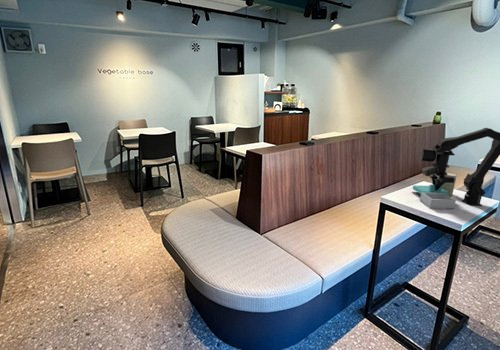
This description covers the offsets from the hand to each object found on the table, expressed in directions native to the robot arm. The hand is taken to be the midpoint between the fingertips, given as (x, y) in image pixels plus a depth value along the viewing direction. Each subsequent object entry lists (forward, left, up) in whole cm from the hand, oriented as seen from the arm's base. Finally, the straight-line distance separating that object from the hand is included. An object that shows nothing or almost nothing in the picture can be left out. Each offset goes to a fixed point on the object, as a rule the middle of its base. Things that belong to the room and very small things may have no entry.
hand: (435, 189), depth 157 cm
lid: (0, -4, -3) cm, 6 cm away
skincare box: (-12, -9, -6) cm, 16 cm away
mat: (0, -4, -6) cm, 7 cm away
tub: (+3, +8, -6) cm, 11 cm away
